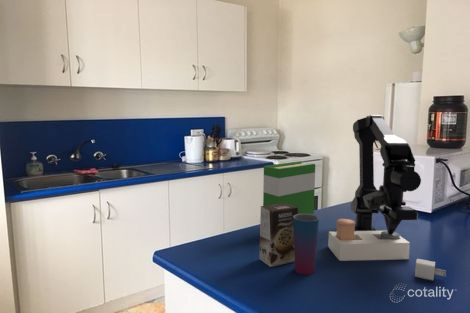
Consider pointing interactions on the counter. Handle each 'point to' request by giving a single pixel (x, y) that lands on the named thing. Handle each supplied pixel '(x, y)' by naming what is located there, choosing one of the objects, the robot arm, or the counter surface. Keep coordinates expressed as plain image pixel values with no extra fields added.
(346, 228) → the terracotta plunger
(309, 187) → the hardback book
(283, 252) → the brown cookie box
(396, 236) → the charcoal plunger
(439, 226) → the counter surface
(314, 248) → the cup
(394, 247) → the tray
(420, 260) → the usb wall charger
